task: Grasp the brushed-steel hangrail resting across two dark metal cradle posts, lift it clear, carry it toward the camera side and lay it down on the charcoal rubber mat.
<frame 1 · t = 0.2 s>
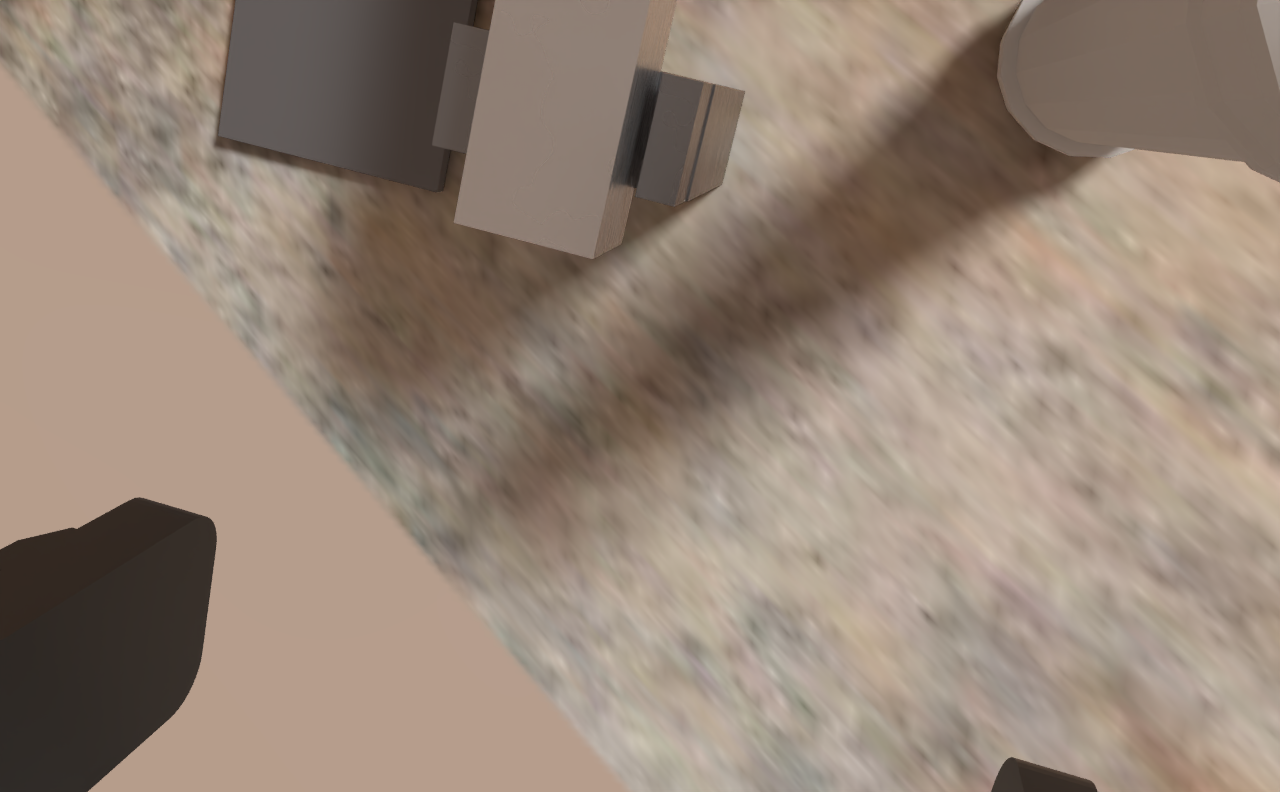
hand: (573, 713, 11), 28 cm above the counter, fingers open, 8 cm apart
post 2: (638, 114, 38), on the counter
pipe: (1088, 50, 35), on the counter
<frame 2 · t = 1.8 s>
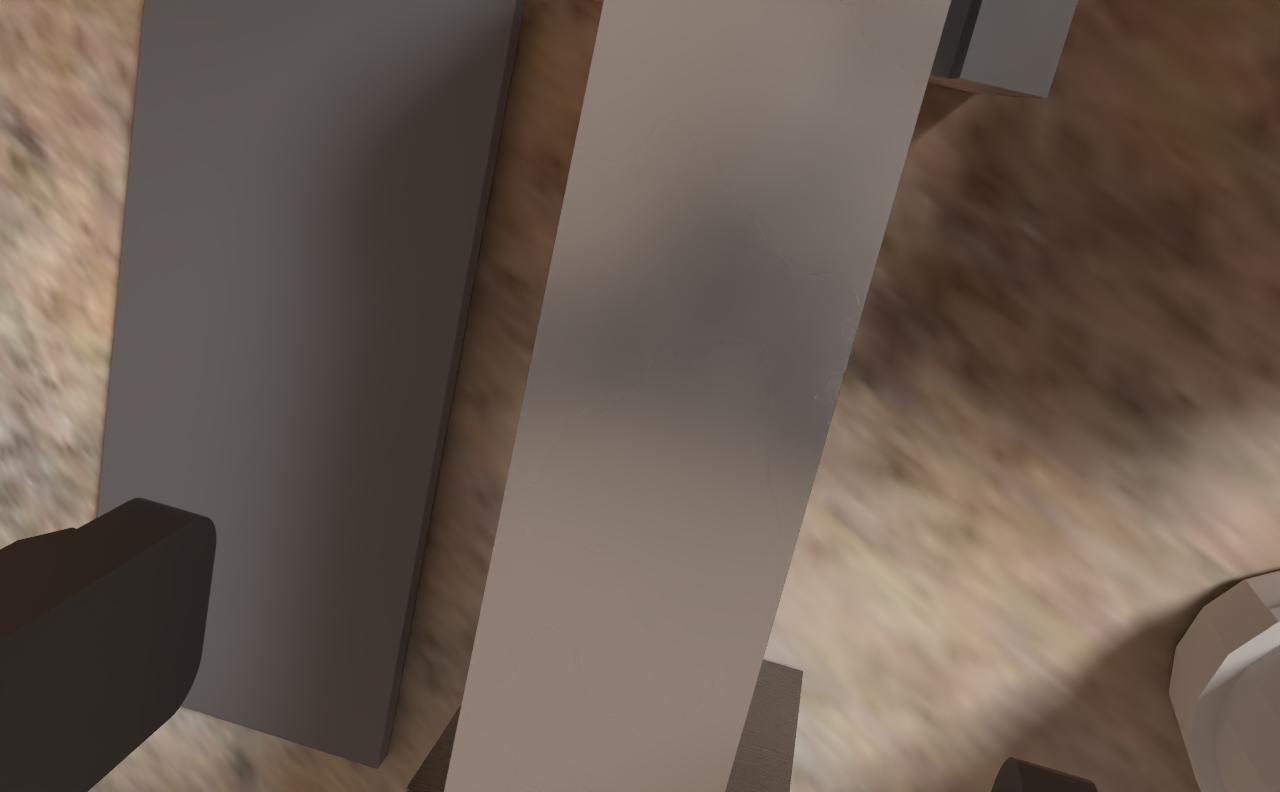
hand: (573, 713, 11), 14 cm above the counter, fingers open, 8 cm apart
post 2: (652, 687, 27), on the counter
mat: (303, 250, 26), on the counter
rail: (676, 487, 17), point 8 cm above the counter, touching post 2, post 1
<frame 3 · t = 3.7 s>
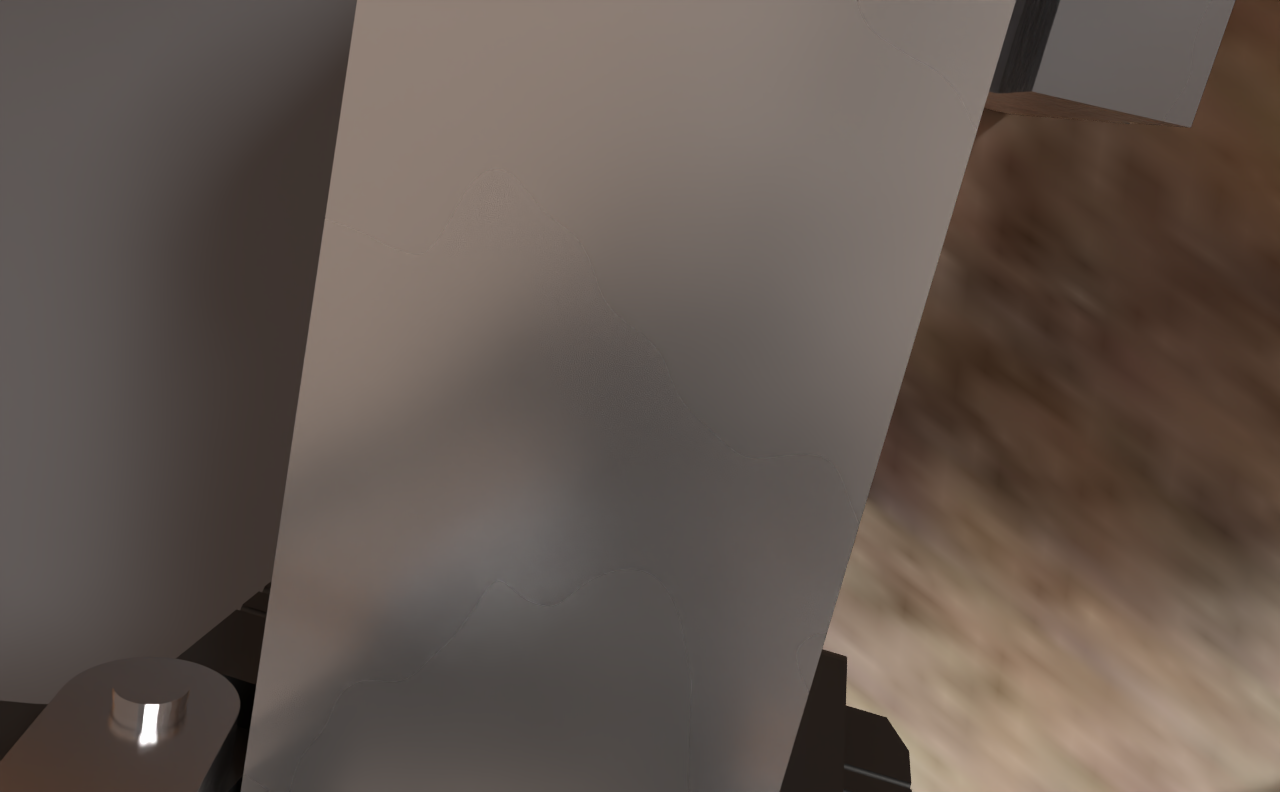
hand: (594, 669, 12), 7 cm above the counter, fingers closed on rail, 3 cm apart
mat: (134, 314, 20), on the counter
rail: (576, 713, 11), point 8 cm above the counter, touching gripper, post 2, post 1
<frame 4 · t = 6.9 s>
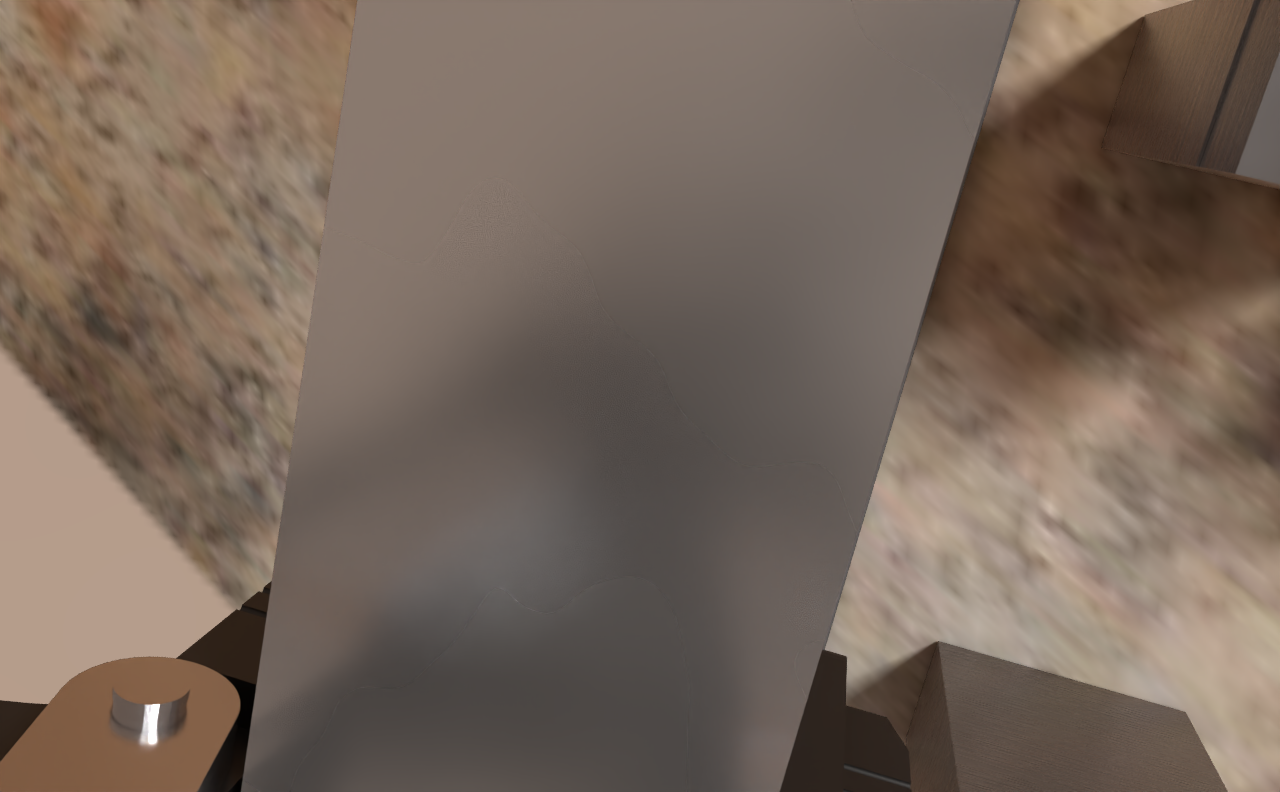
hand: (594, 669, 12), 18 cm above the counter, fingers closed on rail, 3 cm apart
post 2: (1042, 725, 31), on the counter
post 1: (1266, 115, 26), on the counter
mat: (747, 340, 30), on the counter
rail: (575, 717, 11), point 19 cm above the counter, touching gripper
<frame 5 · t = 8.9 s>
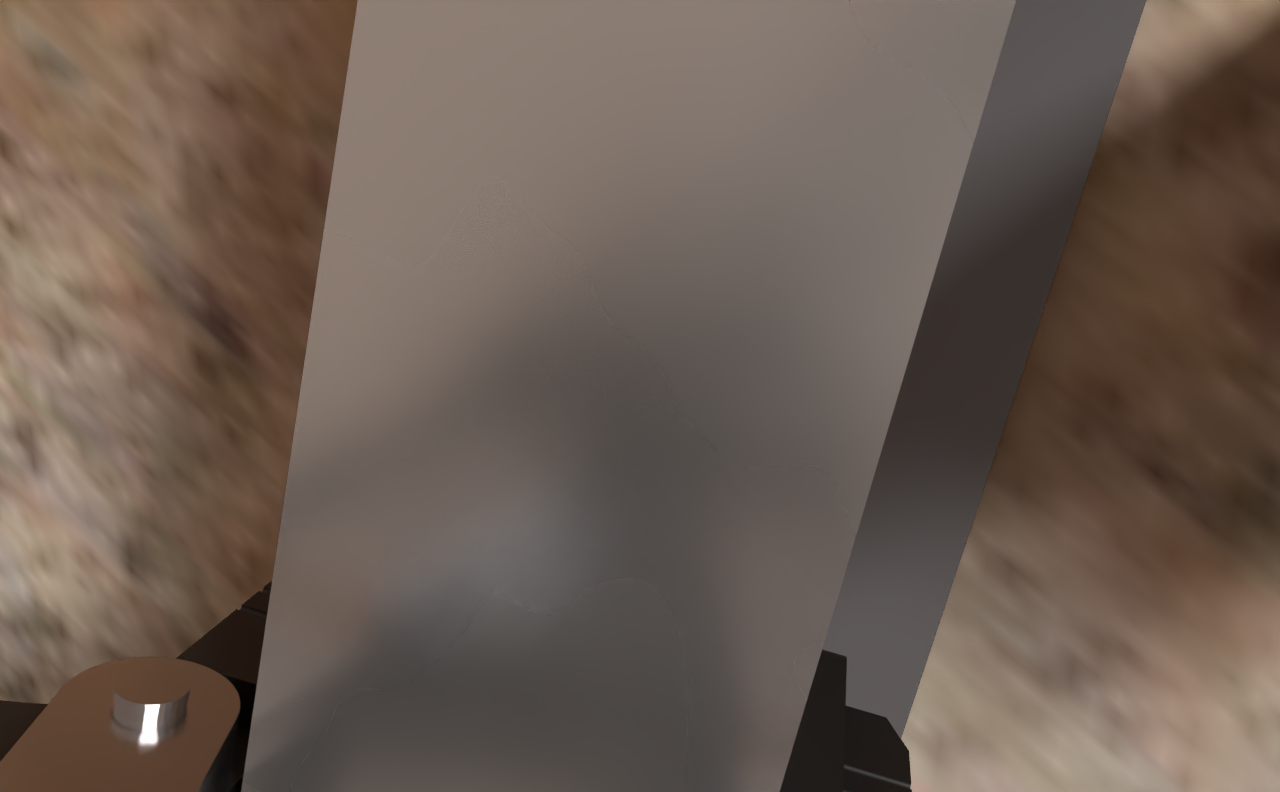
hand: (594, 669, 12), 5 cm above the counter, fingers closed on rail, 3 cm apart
mat: (663, 512, 17), on the counter
rail: (575, 718, 11), point 5 cm above the counter, touching gripper
when the fingers open (1 cm above the counter, at t = 10.5 s): rail drops 1 cm, resting on mat.
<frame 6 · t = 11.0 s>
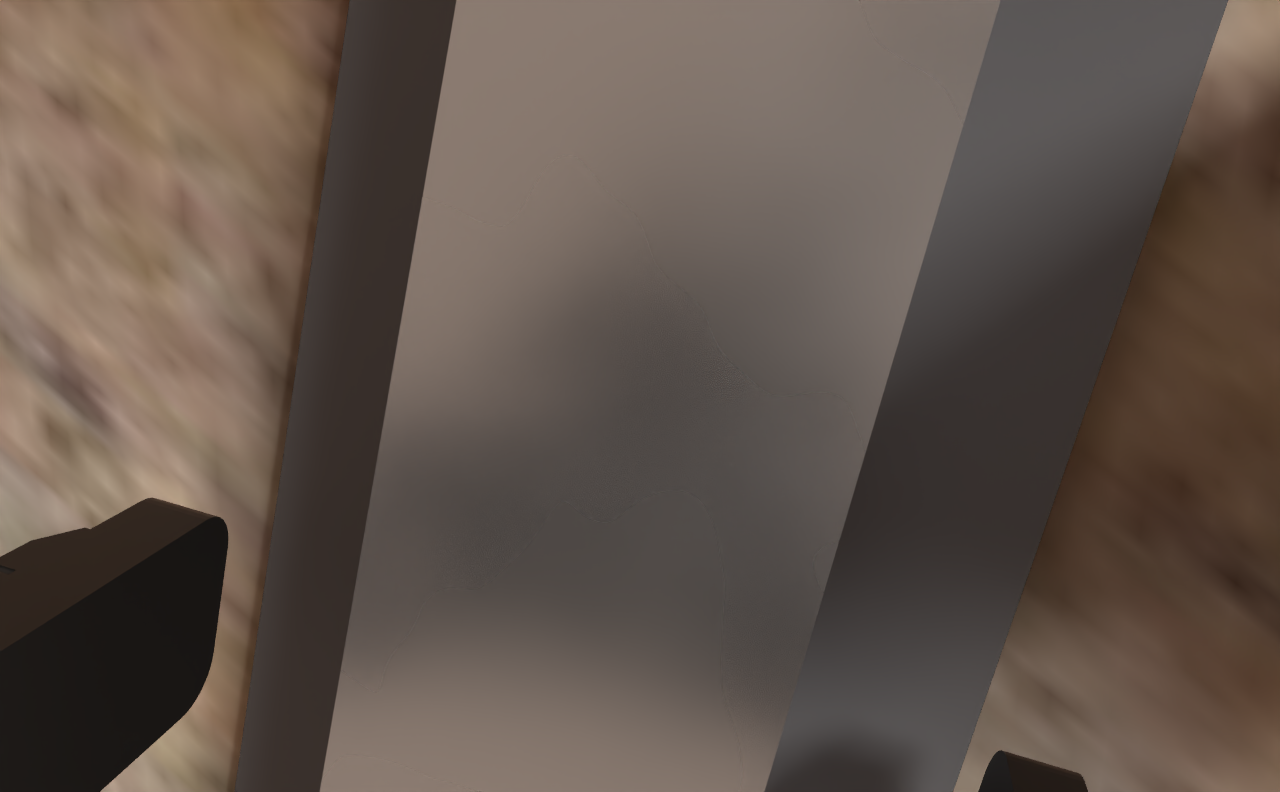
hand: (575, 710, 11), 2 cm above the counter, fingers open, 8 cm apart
mat: (616, 622, 13), on the counter
rail: (611, 644, 13), point 1 cm above the counter, touching mat
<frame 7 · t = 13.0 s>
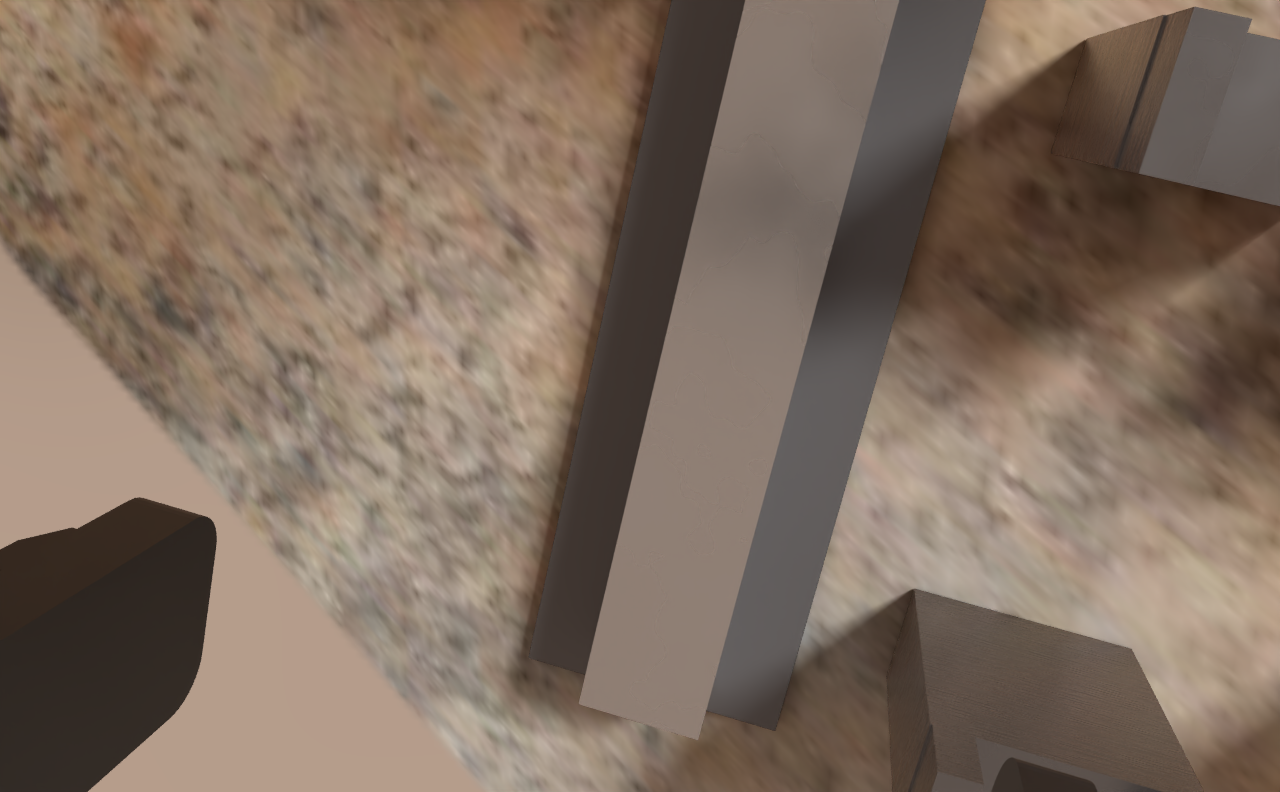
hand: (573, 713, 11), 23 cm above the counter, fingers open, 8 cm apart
post 2: (1006, 663, 35), on the counter
post 1: (1191, 124, 30), on the counter
mat: (744, 322, 34), on the counter
rail: (745, 326, 33), point 1 cm above the counter, touching mat
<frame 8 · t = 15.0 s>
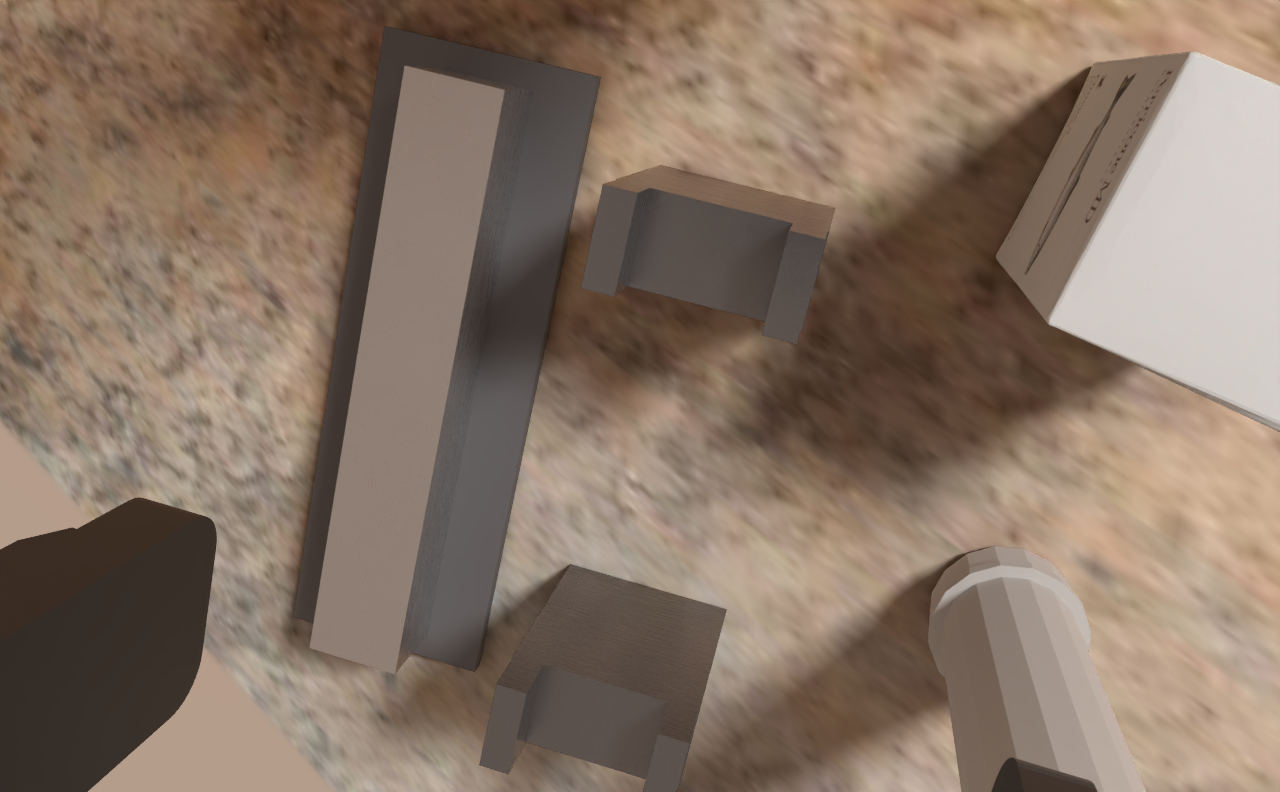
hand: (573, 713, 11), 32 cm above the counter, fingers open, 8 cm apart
post 2: (639, 620, 46), on the counter
post 1: (736, 227, 42), on the counter
supplement box: (1137, 204, 40), on the counter
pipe: (1002, 597, 44), on the counter
mat: (437, 366, 45), on the counter
rail: (433, 369, 45), point 1 cm above the counter, touching mat
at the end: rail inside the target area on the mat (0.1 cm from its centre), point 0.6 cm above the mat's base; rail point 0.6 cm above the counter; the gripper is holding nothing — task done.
